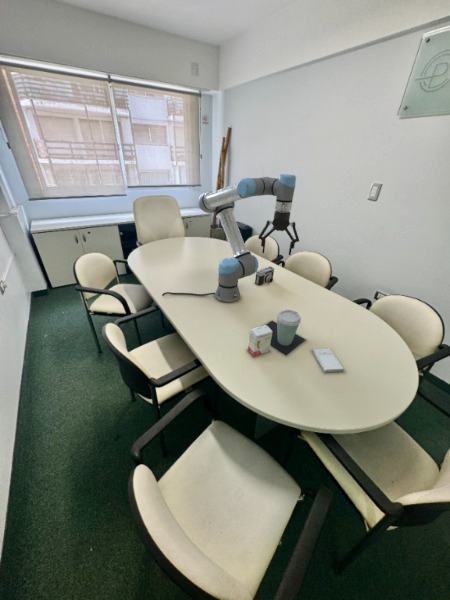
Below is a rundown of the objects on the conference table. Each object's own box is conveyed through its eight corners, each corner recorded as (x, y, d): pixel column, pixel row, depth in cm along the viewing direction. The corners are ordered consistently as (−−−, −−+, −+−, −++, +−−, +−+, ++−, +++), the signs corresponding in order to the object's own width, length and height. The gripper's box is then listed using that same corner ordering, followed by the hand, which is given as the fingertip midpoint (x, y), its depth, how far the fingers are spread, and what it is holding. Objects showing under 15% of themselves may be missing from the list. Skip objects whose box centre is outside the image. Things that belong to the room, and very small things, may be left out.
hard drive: (324, 372, 99) (312, 351, 110) (343, 371, 100) (329, 350, 110) (325, 369, 98) (313, 348, 109) (344, 368, 99) (330, 347, 109)
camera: (263, 288, 160) (265, 274, 155) (254, 283, 165) (255, 270, 160) (277, 282, 168) (279, 269, 163) (268, 278, 173) (269, 265, 168)
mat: (252, 333, 119) (252, 333, 119) (272, 321, 128) (272, 320, 128) (286, 355, 107) (286, 354, 106) (305, 340, 116) (305, 339, 116)
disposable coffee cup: (282, 351, 108) (288, 324, 100) (267, 337, 116) (272, 311, 108) (300, 344, 113) (306, 317, 105) (284, 331, 121) (289, 305, 113)
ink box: (253, 357, 105) (256, 336, 99) (247, 350, 109) (249, 329, 103) (269, 351, 108) (273, 330, 102) (263, 344, 112) (266, 324, 106)
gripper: (256, 210, 113) (252, 254, 124) (310, 214, 111) (301, 257, 122) (256, 207, 119) (252, 249, 130) (308, 210, 117) (299, 252, 128)
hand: (276, 253), depth 126 cm, fingers open, 13 cm apart
